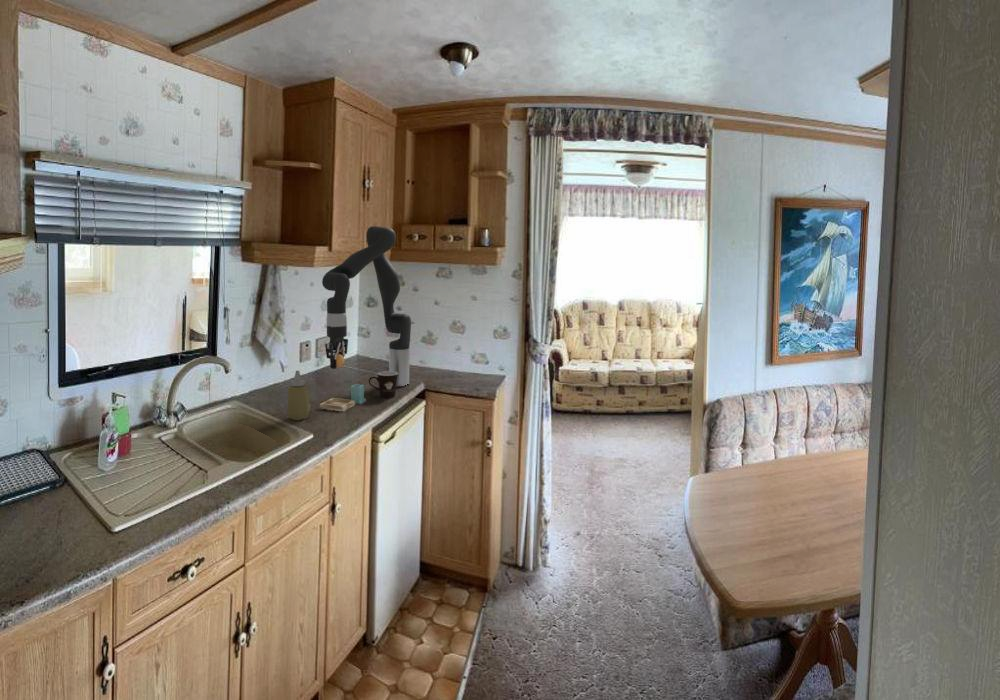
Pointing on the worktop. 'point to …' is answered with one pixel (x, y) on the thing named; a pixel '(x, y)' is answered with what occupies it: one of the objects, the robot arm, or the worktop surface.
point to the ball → (339, 360)
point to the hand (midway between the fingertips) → (337, 366)
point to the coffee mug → (386, 383)
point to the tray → (337, 404)
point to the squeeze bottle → (298, 399)
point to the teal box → (357, 393)
